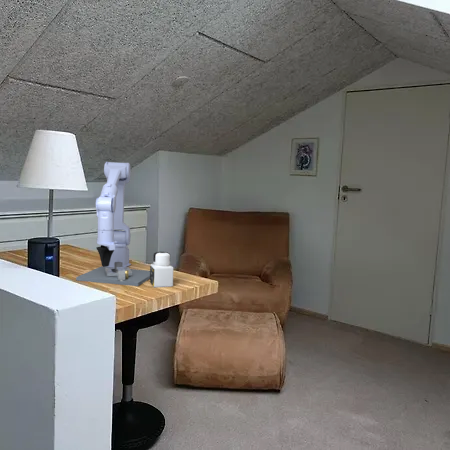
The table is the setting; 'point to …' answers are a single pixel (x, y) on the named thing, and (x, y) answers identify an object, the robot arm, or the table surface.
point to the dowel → (126, 274)
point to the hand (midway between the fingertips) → (105, 266)
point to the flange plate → (118, 272)
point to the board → (101, 277)
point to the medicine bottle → (161, 270)
